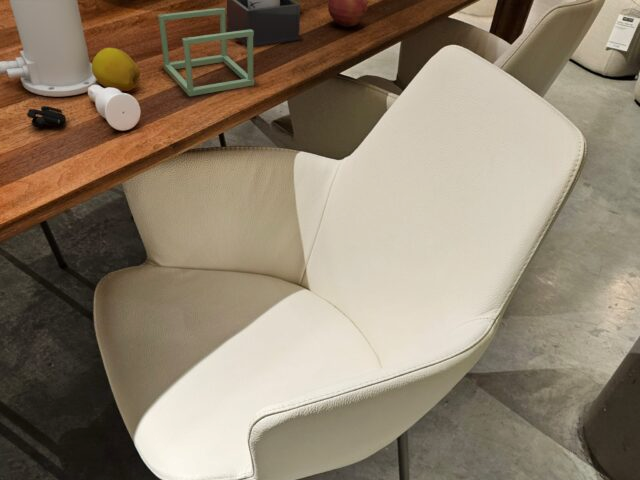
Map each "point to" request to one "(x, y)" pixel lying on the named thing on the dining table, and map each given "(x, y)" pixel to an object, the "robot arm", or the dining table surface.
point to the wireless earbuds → (46, 117)
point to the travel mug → (262, 3)
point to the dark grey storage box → (265, 21)
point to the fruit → (347, 11)
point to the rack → (189, 63)
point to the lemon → (115, 69)
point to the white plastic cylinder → (115, 107)
